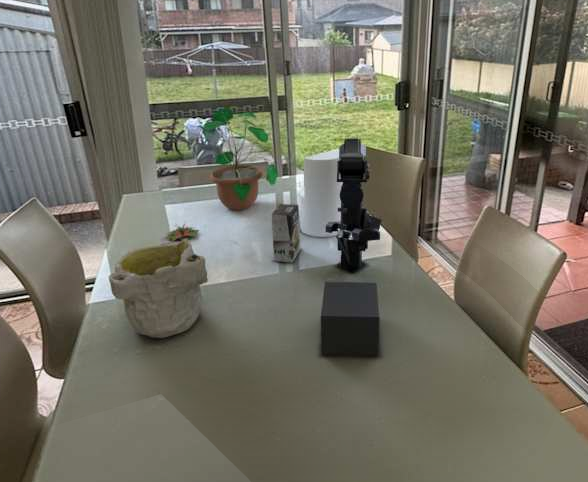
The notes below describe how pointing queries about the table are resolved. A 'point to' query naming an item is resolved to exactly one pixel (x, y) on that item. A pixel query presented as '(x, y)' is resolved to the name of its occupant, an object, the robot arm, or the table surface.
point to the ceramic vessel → (160, 287)
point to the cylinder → (320, 194)
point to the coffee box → (286, 232)
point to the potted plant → (237, 179)
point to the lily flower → (181, 233)
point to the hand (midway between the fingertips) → (351, 263)
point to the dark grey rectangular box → (350, 319)
